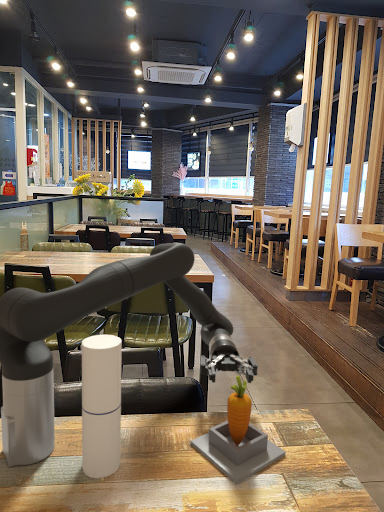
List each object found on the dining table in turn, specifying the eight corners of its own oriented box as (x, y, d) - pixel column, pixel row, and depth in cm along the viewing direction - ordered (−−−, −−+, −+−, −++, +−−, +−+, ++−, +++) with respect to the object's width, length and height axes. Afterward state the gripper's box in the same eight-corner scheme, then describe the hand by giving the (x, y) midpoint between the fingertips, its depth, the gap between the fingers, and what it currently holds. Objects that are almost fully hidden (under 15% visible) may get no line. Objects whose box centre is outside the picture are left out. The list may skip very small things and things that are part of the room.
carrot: (248, 455, 75) (252, 386, 72) (223, 451, 76) (227, 383, 73) (249, 440, 80) (253, 374, 77) (226, 436, 80) (230, 371, 78)
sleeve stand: (236, 484, 68) (238, 464, 67) (190, 444, 79) (191, 426, 78) (285, 455, 76) (286, 437, 76) (237, 422, 87) (238, 406, 87)
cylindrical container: (86, 482, 67) (86, 351, 63) (79, 458, 73) (78, 337, 70) (124, 470, 70) (126, 345, 67) (114, 448, 76) (115, 332, 73)
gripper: (198, 338, 102) (202, 363, 86) (249, 338, 102) (263, 364, 86) (197, 363, 103) (201, 393, 87) (247, 364, 103) (261, 394, 87)
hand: (232, 379), depth 87 cm, fingers open, 8 cm apart
